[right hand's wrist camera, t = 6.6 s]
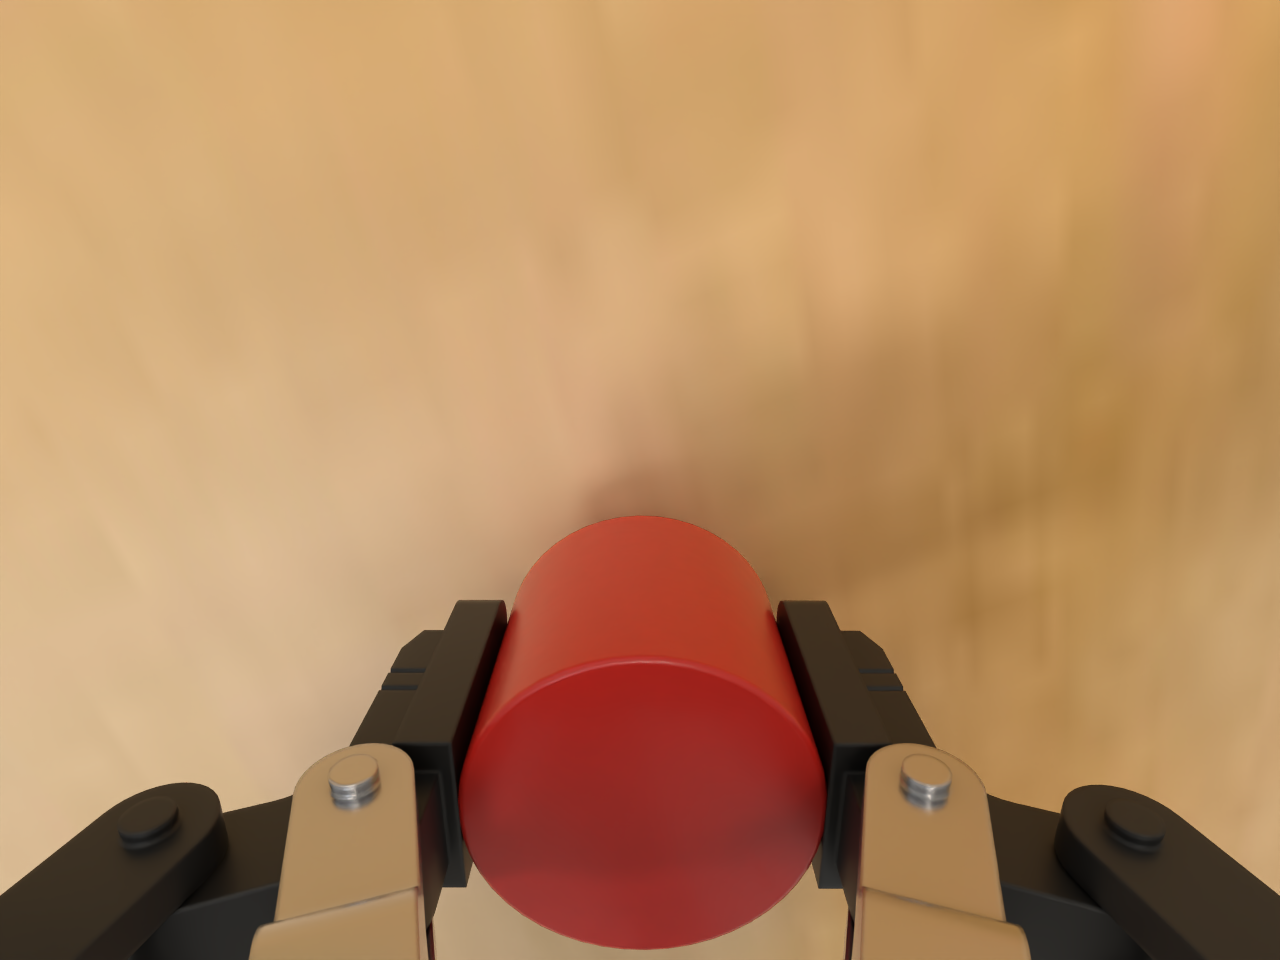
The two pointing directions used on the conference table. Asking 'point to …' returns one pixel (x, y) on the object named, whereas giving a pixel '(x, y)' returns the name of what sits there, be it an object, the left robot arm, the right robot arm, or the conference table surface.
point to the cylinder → (642, 744)
